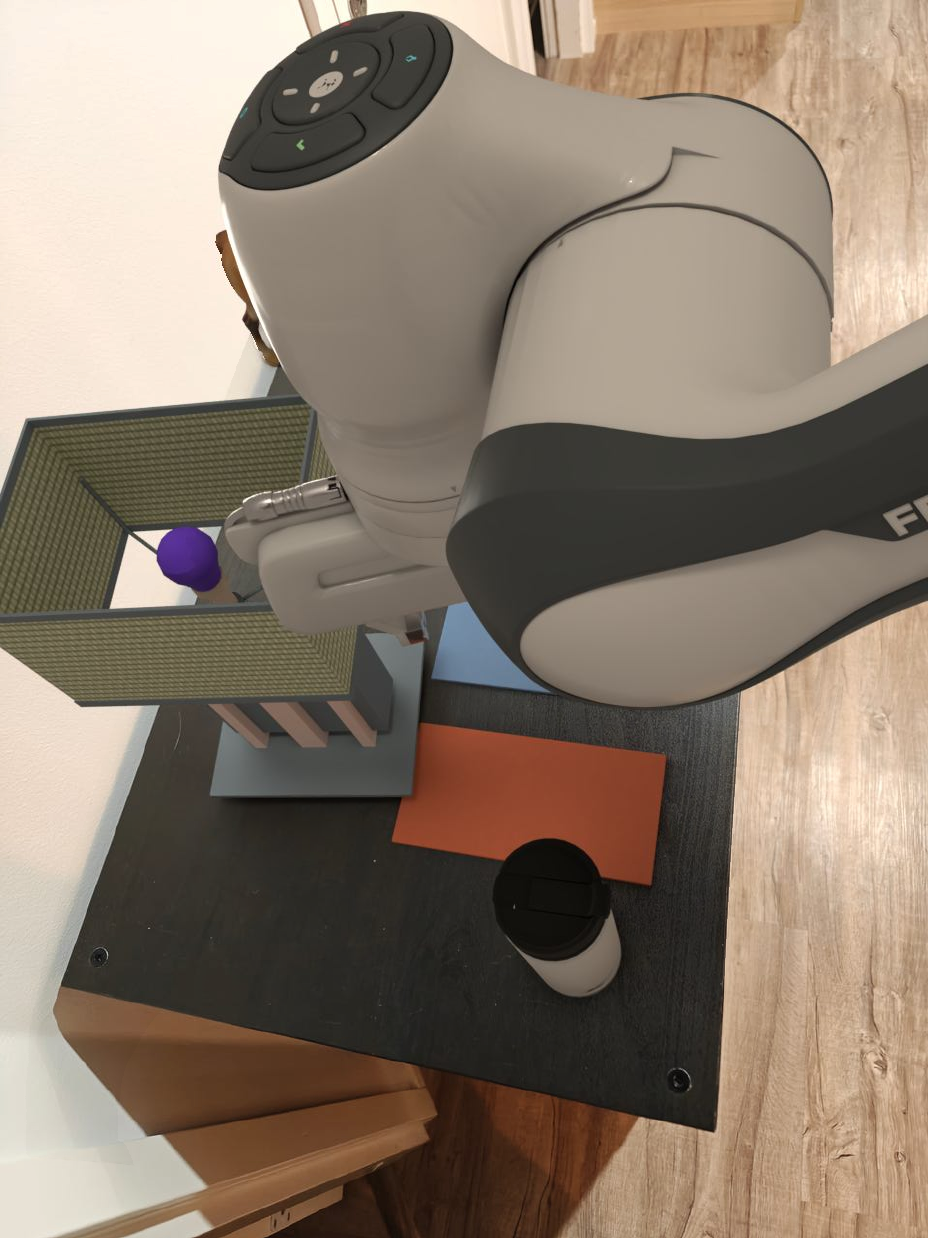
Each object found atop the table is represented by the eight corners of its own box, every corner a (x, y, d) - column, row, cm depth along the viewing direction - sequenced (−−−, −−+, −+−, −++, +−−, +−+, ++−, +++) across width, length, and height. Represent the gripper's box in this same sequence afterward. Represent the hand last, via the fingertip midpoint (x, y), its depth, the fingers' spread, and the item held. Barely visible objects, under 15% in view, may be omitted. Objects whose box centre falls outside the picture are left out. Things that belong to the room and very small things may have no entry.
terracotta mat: (666, 756, 73) (666, 754, 73) (651, 886, 69) (651, 885, 68) (421, 724, 78) (420, 722, 78) (392, 842, 74) (391, 841, 74)
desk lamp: (213, 804, 78) (-45, 623, 50) (241, 651, 85) (27, 414, 57) (428, 804, 75) (282, 609, 47) (439, 644, 81) (317, 388, 53)
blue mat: (688, 578, 80) (688, 575, 80) (672, 709, 75) (672, 707, 74) (461, 559, 85) (460, 556, 85) (431, 680, 80) (430, 678, 80)
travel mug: (621, 1005, 65) (604, 963, 48) (528, 990, 67) (478, 943, 50) (630, 913, 68) (617, 842, 51) (540, 900, 70) (497, 827, 52)
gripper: (206, 574, 38) (317, 706, 50) (715, 458, 36) (703, 625, 48) (206, 452, 41) (310, 604, 53) (674, 339, 39) (673, 524, 51)
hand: (500, 613), depth 50 cm, fingers open, 8 cm apart
